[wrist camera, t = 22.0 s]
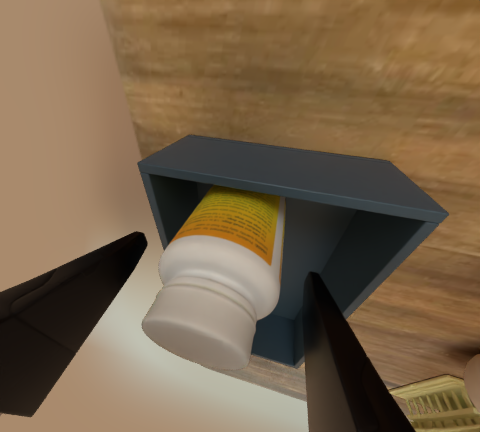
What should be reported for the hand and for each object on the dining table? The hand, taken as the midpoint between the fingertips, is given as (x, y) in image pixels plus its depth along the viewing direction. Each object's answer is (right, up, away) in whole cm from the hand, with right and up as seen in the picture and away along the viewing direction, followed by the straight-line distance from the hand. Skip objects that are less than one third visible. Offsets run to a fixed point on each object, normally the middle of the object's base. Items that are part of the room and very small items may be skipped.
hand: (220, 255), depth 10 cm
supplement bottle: (+2, +4, +5) cm, 6 cm away
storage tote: (+3, -2, +9) cm, 10 cm away
